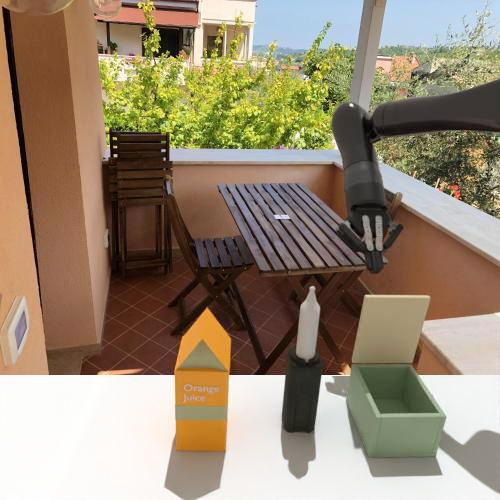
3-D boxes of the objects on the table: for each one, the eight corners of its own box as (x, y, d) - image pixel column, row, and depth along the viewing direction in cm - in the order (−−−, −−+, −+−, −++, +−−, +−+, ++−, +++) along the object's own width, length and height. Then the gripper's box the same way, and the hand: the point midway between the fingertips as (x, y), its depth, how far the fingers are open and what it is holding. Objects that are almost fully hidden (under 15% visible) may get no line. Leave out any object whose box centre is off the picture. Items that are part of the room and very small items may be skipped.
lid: (431, 297, 68) (428, 295, 69) (366, 297, 67) (364, 294, 68) (412, 363, 74) (410, 360, 75) (352, 363, 73) (351, 360, 74)
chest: (436, 456, 66) (446, 416, 63) (368, 458, 65) (376, 417, 62) (403, 399, 77) (411, 363, 74) (345, 400, 76) (351, 364, 74)
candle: (284, 432, 69) (297, 294, 59) (281, 410, 73) (293, 278, 64) (315, 433, 69) (333, 294, 60) (310, 410, 74) (326, 279, 64)
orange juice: (175, 450, 64) (172, 337, 57) (182, 409, 73) (181, 305, 65) (227, 451, 65) (231, 339, 57) (229, 410, 73) (232, 306, 65)
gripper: (336, 179, 81) (346, 264, 74) (404, 180, 82) (420, 265, 75) (326, 199, 87) (334, 279, 80) (389, 200, 88) (402, 279, 81)
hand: (375, 272), depth 78 cm, fingers closed
